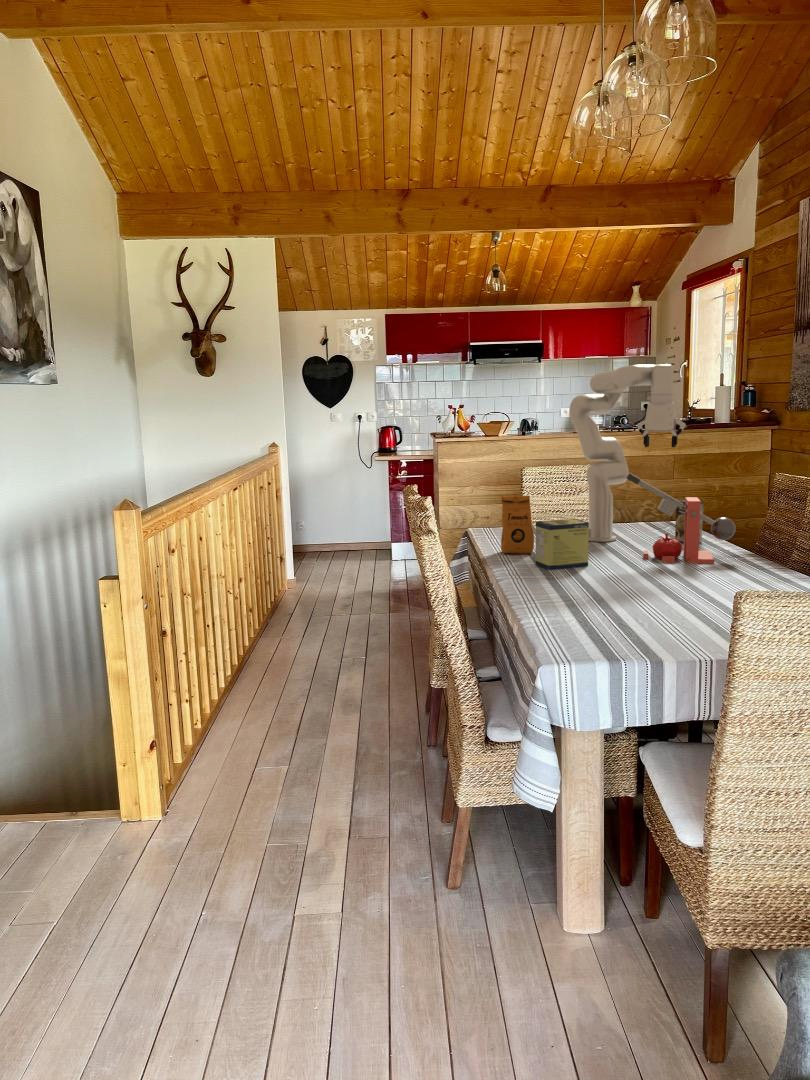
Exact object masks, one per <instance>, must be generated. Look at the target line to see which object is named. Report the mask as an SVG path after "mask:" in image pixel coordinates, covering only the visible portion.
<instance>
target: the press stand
mask: <svg viewBox="0 0 810 1080" xmlns="http://www.w3.org/2000/svg"><path fill="white" fill-rule="evenodd" d="M684 500H685V526H684V542H683V557H685V562H688V563H689V564H709V565H713V564H715V558H714V556H713V554H712V553H711V551H710V550H700V548H699V547H700V546H699V545H700V542H699V525H700V502H701V500H700V499H699V497H697V496H695V497H694V496H691V497H689V496H687V497H684ZM686 509H687V512H686ZM643 559H644V560H649V551H648V550H643ZM675 560H676V559H675V557H674V556H662V559H661V563H665V564H666V563H668V564H669V563H670V564H673V563H675Z"/></svg>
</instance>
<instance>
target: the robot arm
mask: <svg viewBox="0 0 810 1080" xmlns="http://www.w3.org/2000/svg"><path fill="white" fill-rule="evenodd" d="M589 381H590V382H589V387H590V389H591V390H592V391H593V392H594V393H584V394H579V395H577V396H575V397H574V398H573V399H572V400H571V401H570V405H569V416H570V417H569V418H570V420H571V422H572V424H573V427H574V429H575V430H576V433H577V435H578V439H579V443H580V447H581V450H582V452H583V455H584V457H585V459H586V460H587V461H589V462H595V463H592V464H590V465H589V466H588V467H587V469H586V480H587V485H588V522H589V536H588V542H595V543H596V542H601V543H604V542H614V541H616V540H617V536H616V535H613V534H614V533H613V530H614V529H613V526H614V525H613V523H614V522H613V520H614V518H613V517H614V513H613V512H614V496H613V492H612V490H611V488H610V486H612V485H613V486H615V485H621V484H624V483H626V482H627V481H628V479H626V477H627V475H628V474H629V473H630V471H629V466H628V463H627V460H626V456H625V452H624V451H623V448H622V447H623V446H622V445H621V442H620V441H619V440H618V439H617V438H615V437H612V436H602V435H601V433H600V430H599V426H598V425H597V424H596V422H595V421H594V420H593V419H592V418H591V417H590V416H599V415H601V416H603V415H607V414H610V413H611V411H612V410H614V408H615V406H616V405H617V404H618V401H619V400H620V398H621V396H622V395H623V393H624V391H625V390H627V389H628V388H629V387H644V386H645V387H646V386H648V387H649V386H650V395H649V396H646V400H647V401H649V402H650V403H647V408H646V414H645V419H644V420H642V421H640V422H638V423H637V424H636V427H637V429H638V432H639V434H641V435H642V436H643V445H644V448H648V447H650V433H651V432H670V433H671V434H672V436H671V448H677V445H678V437H679V435H680V434H682V432H683V430H684V429H685V428H686V425H687V424H686V423H685V422H683V421H681V420H679V419H678V418H677V412H676V406H675V402H674V401H673V392H674V366H673V365H672V364H670V363H669V364H668V363H665V364H632V365H627V366H626V365H625V366H621V367H618V368H616V369H612V370H606V371H605V370H604V371H601V372H598V373H595V374H594V375H593V376H592V377H591V379H590V380H589ZM643 425H644V428H643ZM677 425H678V426H679V428H678V429H677V430H676V427H677Z"/></svg>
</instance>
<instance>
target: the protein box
mask: <svg viewBox="0 0 810 1080" xmlns="http://www.w3.org/2000/svg"><path fill="white" fill-rule="evenodd" d="M588 536H589V521H584V520H581V519H577V518H564V519H563V518H562V519H553V520H550V519H549V520H541V521H540V520H539V521H535V565H536V566H538V567H541V568H544V569H546V570H548V571H549V570H551V571H552V570H561V569H571V568H583V567H584V568H585V567H588V566H589V541H588Z"/></svg>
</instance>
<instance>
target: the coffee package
mask: <svg viewBox="0 0 810 1080" xmlns="http://www.w3.org/2000/svg"><path fill="white" fill-rule="evenodd" d="M500 501H501V503H502V504H501V505H502V508H501V509H502V511H501V516H502V517H501V525H502V531H501V537H500V538H501V539H500V550H501V552H502V553H504V554H511V555H516V554H517V555H519V554H520V555H525V554H530V555H531V554H533V550H534V548H535V535H534V529H533V523H532V522H533V520H532V511H531V510H532V509H531V497H530V495H518V496H516V495H515V496H514V495H502V496H501V500H500Z"/></svg>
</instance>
